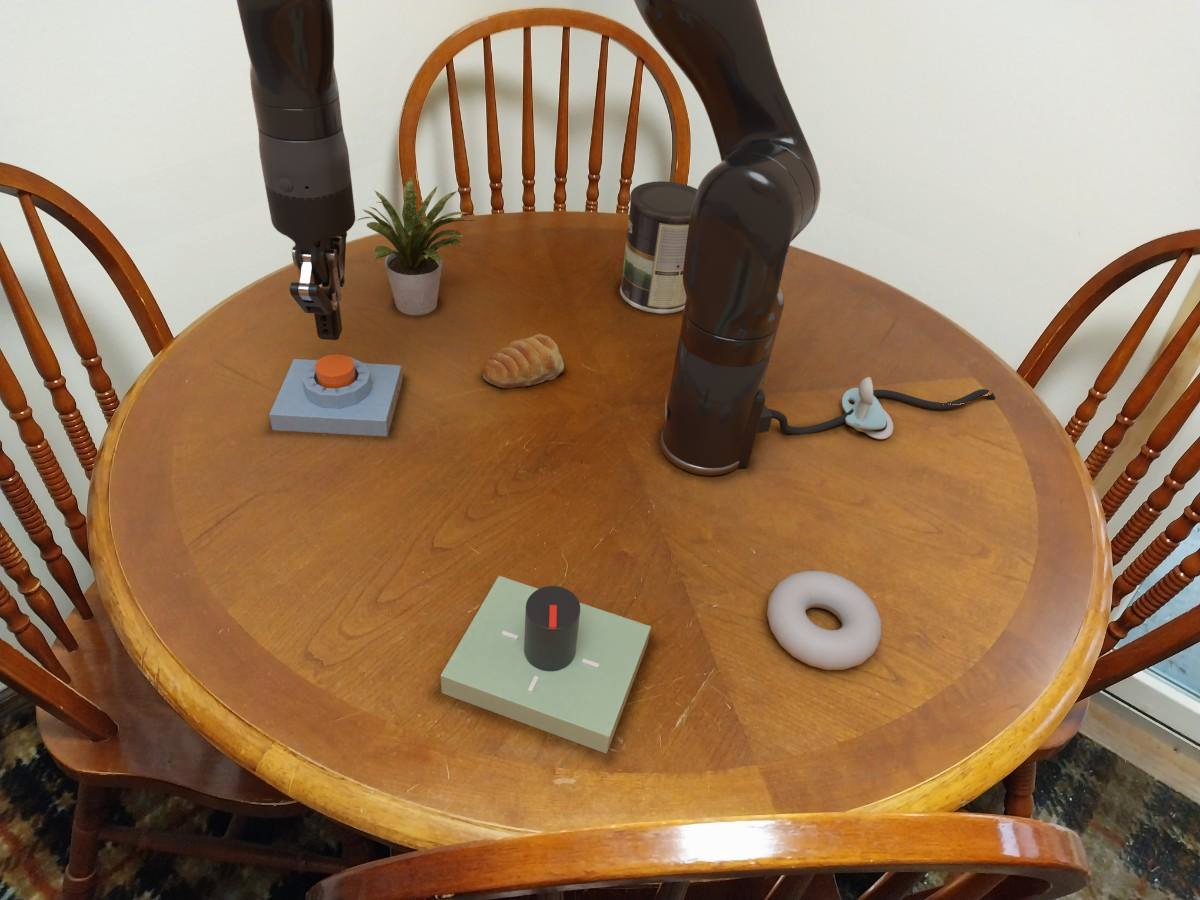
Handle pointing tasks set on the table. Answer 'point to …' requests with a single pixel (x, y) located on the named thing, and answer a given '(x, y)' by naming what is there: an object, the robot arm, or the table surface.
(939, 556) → the table surface
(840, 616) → the donut
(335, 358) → the button
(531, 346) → the pastry
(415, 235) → the house plant
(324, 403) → the button block
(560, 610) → the program dial
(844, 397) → the pacifier
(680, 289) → the coffee can
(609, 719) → the dial panel
